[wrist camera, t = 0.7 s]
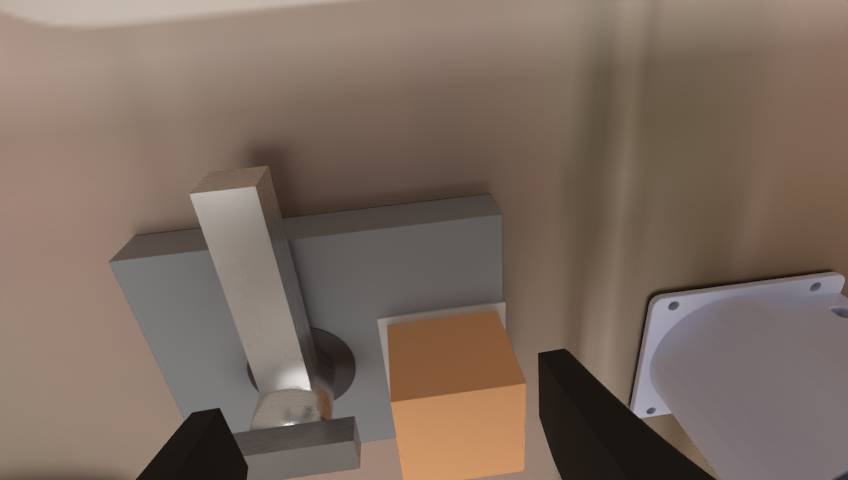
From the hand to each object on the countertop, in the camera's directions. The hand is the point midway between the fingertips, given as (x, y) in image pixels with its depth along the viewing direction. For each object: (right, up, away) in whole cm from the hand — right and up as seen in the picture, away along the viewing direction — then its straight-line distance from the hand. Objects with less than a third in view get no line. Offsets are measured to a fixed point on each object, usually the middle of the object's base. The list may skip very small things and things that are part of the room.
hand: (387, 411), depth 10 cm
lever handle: (-5, +2, +7) cm, 8 cm away
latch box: (-3, 0, +10) cm, 11 cm away
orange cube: (+2, -1, +9) cm, 9 cm away
